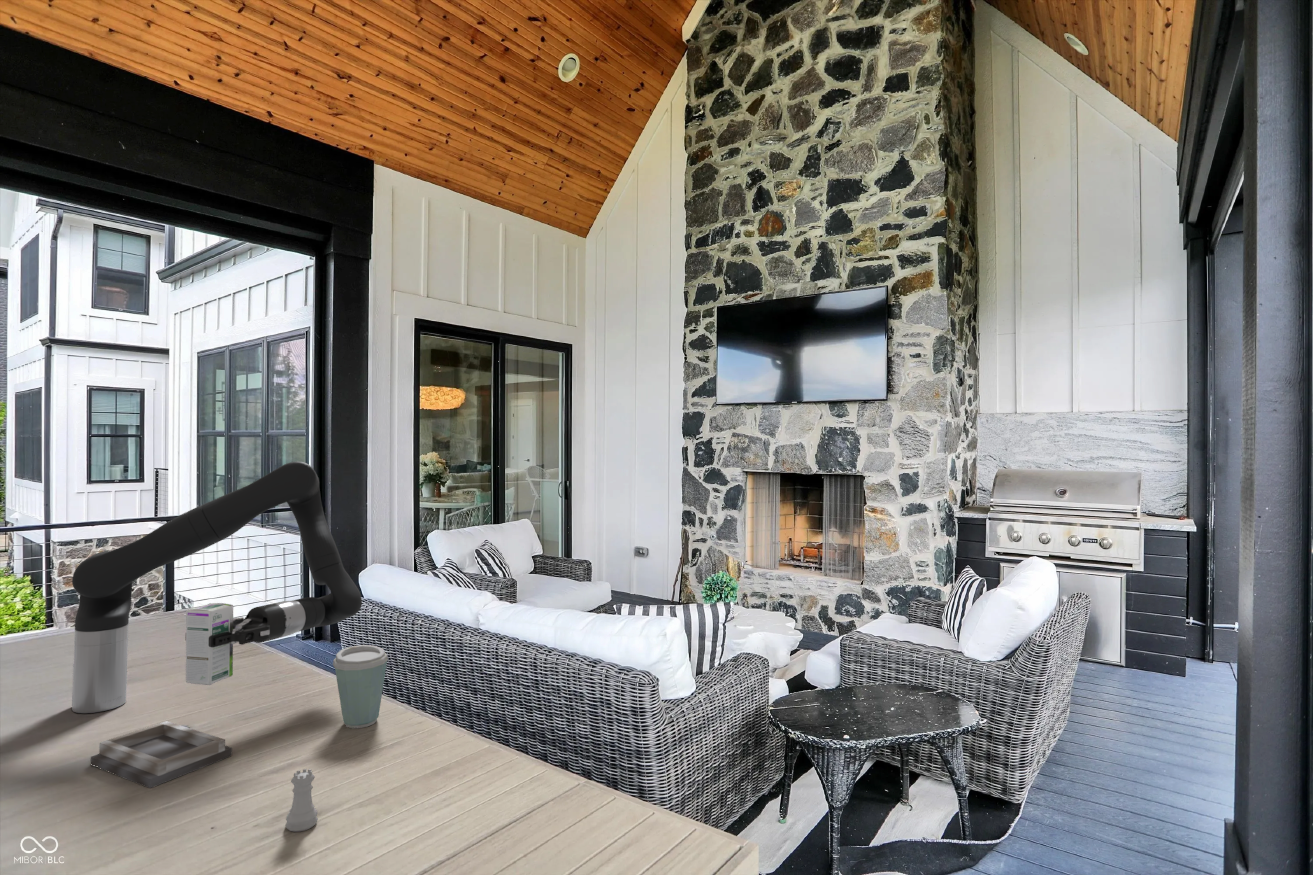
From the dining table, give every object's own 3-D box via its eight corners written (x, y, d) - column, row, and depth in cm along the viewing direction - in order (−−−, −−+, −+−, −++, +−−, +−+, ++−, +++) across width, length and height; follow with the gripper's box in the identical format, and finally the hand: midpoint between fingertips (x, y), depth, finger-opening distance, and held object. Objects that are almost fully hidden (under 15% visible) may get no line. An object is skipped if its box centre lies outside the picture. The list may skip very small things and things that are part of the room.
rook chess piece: (292, 817, 109) (294, 766, 110) (322, 816, 110) (323, 765, 110) (279, 833, 105) (281, 779, 105) (310, 832, 105) (312, 778, 105)
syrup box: (210, 685, 135) (212, 610, 135) (183, 683, 136) (185, 608, 136) (233, 676, 141) (235, 603, 141) (207, 673, 142) (209, 601, 142)
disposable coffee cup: (395, 723, 147) (397, 651, 147) (344, 738, 139) (346, 661, 139) (372, 709, 154) (374, 640, 154) (322, 722, 146) (324, 650, 146)
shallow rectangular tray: (90, 764, 125) (91, 745, 125) (173, 736, 138) (173, 718, 138) (150, 787, 118) (150, 766, 118) (231, 755, 130) (232, 736, 130)
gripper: (254, 599, 155) (175, 615, 140) (299, 607, 149) (222, 624, 133) (253, 633, 155) (174, 653, 139) (298, 642, 149) (221, 664, 133)
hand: (198, 639), depth 137 cm, fingers closed on syrup box, 6 cm apart
